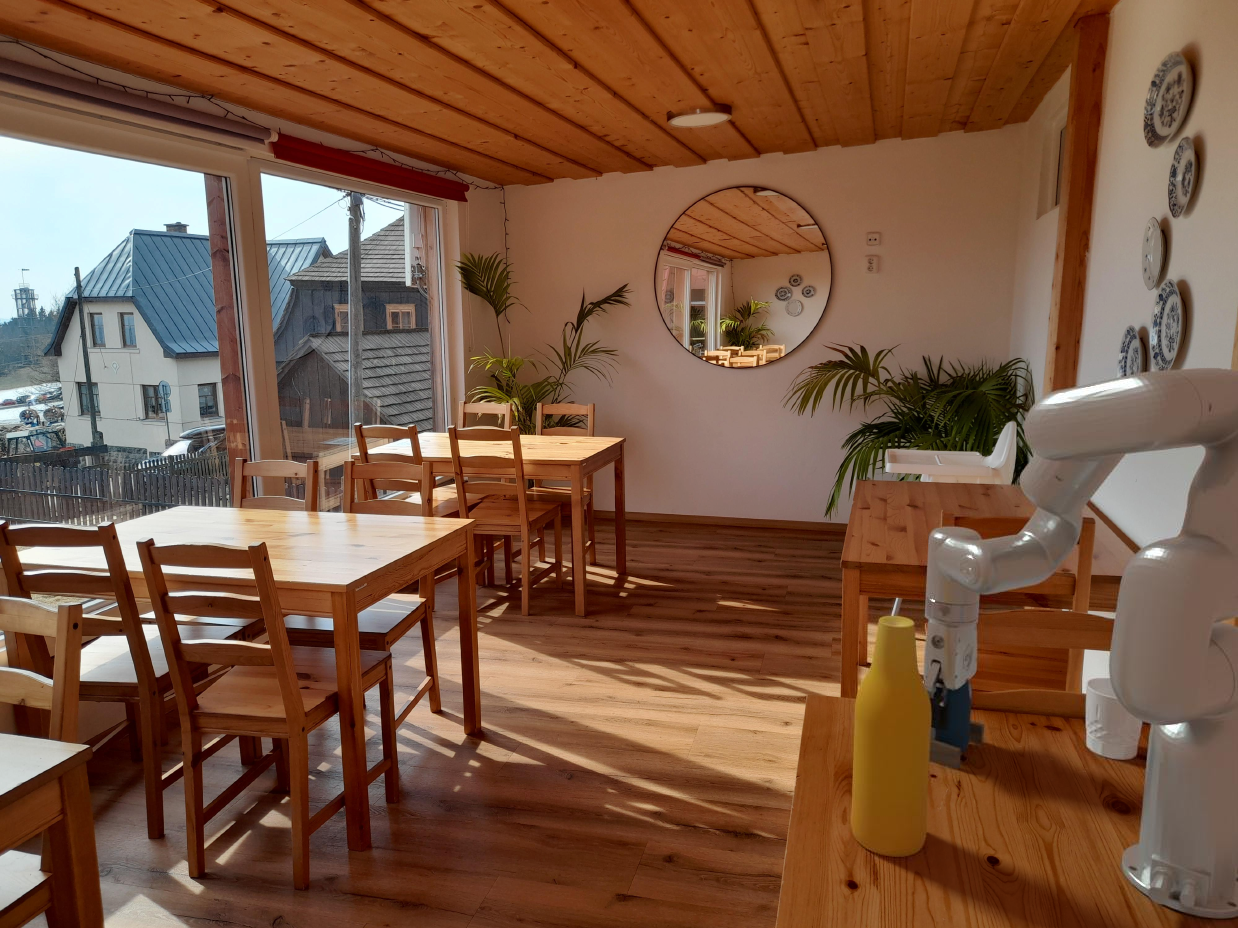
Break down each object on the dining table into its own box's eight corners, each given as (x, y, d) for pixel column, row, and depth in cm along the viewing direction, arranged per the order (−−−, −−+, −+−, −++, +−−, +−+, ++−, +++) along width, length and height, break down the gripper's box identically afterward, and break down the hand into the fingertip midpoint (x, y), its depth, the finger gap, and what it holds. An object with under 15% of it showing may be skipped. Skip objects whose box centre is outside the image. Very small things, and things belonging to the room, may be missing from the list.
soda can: (973, 744, 131) (978, 671, 129) (961, 762, 126) (965, 687, 124) (928, 732, 135) (932, 661, 134) (914, 749, 130) (918, 676, 128)
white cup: (1090, 759, 127) (1095, 696, 125) (1075, 734, 134) (1080, 675, 132) (1148, 764, 125) (1154, 701, 123) (1130, 739, 132) (1135, 679, 131)
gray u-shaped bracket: (957, 769, 124) (958, 750, 123) (898, 749, 130) (899, 731, 129) (983, 742, 132) (984, 724, 132) (927, 724, 138) (927, 707, 137)
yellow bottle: (913, 868, 101) (924, 640, 97) (839, 842, 107) (846, 624, 102) (934, 830, 109) (945, 617, 104) (864, 808, 114) (871, 604, 110)
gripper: (954, 629, 118) (948, 747, 121) (996, 599, 131) (990, 706, 134) (903, 618, 123) (898, 731, 126) (948, 590, 136) (943, 693, 139)
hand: (945, 717), depth 130 cm, fingers closed on soda can, 7 cm apart
